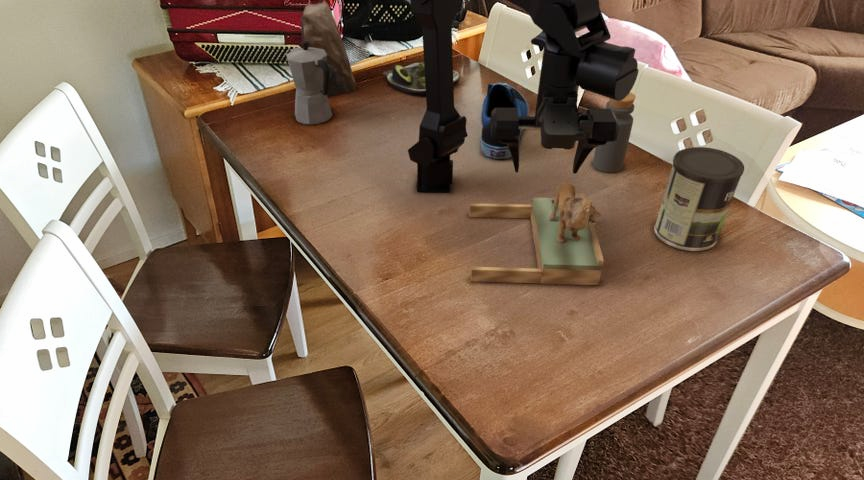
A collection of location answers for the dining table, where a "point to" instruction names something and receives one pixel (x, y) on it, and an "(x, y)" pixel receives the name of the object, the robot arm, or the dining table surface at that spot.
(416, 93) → the salad plate
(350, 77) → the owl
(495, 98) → the shoe
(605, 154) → the bottle
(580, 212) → the lion figurine
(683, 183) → the coffee can
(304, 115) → the coffeepot
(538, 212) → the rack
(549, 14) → the robot arm
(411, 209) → the dining table surface
